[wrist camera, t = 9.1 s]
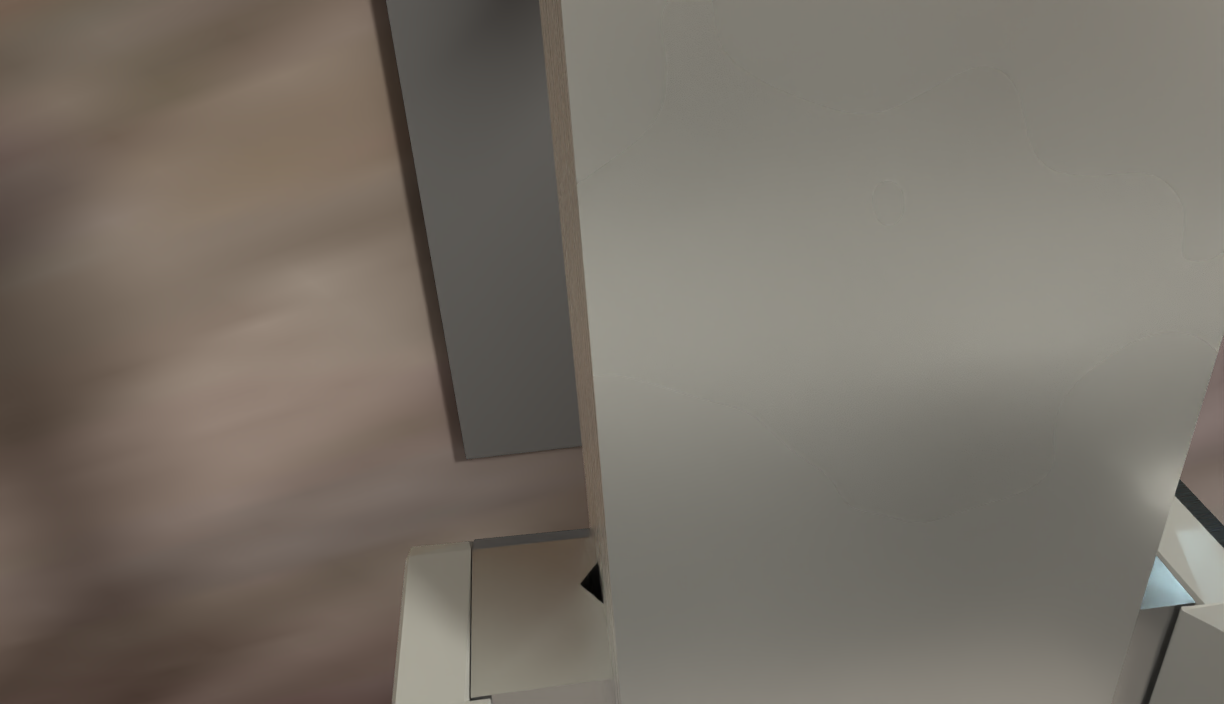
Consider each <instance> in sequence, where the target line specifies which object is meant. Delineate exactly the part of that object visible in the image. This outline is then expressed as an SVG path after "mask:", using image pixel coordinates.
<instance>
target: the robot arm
mask: <svg viewBox="0 0 1224 704" xmlns="http://www.w3.org/2000/svg"><path fill="white" fill-rule="evenodd" d="M392 704H616V694H615V683H614V674H613V667H612V660H611V653H610V645H609V638H608V631H607V624H606V617H605V610H604V604H603V603H602V602H601V591H600V580H599V570H598V560H597V553H596V546H595V539H594V533H593V528H587V529H577V530H567V531H557V532H547V533H536V534H526V535H516V536H506V537H496V538H486V539H475V540H474V542H470V541H468V542H457V543H447V544H437V545H426V546H416V547H411V550H410V552H409V554H408V557H407V559H406V561H405V571H404V582H403V592H402V602H401V613H400V623H399V633H398V644H397V654H396V664H395V675H394V685H393V695H392ZM1111 704H1224V548H1223V547H1222V546H1221V545H1220V544H1219V543H1218V542H1217V540H1216V539H1215V538H1214V537H1213V536H1212V535H1211V534H1210V533H1209V532H1208V531H1207V530H1206V529H1205V528H1204V527H1203V525H1202V524H1201V523H1200V522H1199V521H1198V520H1197V519H1196V518H1195V517H1194V516H1193V515H1192V514H1191V513H1190V511H1189V510H1188V509H1187V508H1186V507H1185V506H1184V505H1183V504H1182V503H1181V502H1180V501H1179V500H1178V499H1177V498H1176V496H1175V495H1174V498H1173V502H1172V505H1171V508H1170V512H1169V515H1168V518H1167V521H1166V525H1165V528H1164V531H1163V535H1162V538H1161V541H1160V544H1159V548H1158V551H1157V554H1156V558H1155V561H1154V564H1153V567H1152V571H1151V574H1150V577H1149V581H1148V584H1147V587H1146V590H1145V594H1144V597H1143V600H1142V604H1141V607H1140V610H1139V613H1138V617H1137V620H1136V623H1135V627H1134V630H1133V633H1132V636H1131V640H1130V643H1129V646H1128V649H1127V653H1126V656H1125V659H1124V663H1123V666H1122V669H1121V672H1120V676H1119V679H1118V682H1117V686H1116V689H1115V692H1114V695H1113V699H1112V702H1111Z"/></svg>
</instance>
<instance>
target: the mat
mask: <svg viewBox="0 0 1224 704" xmlns="http://www.w3.org/2000/svg"><path fill="white" fill-rule="evenodd" d="M386 4H387V9H388V15H389V21H390V26H391V32H392V38H393V44H394V49H395V55H396V61H397V66H398V72H399V78H400V84H401V89H402V95H403V101H404V106H405V112H406V118H407V124H408V129H409V135H410V141H411V146H412V152H413V158H414V164H415V169H416V175H417V181H418V186H419V192H420V198H421V204H422V209H423V215H424V221H425V226H426V232H427V238H428V244H429V249H430V255H431V261H432V266H433V272H434V278H435V284H436V289H437V295H438V301H439V306H440V312H441V318H442V324H443V329H444V335H445V341H446V346H447V352H448V358H449V364H450V369H451V375H452V381H453V386H454V392H455V398H456V404H457V409H458V415H459V421H460V426H461V432H462V438H463V444H464V449H465V455H466V459H473V458H482V457H490V456H499V455H508V454H516V453H525V452H534V451H542V450H551V449H560V448H568V447H577V446H582V441H581V430H580V420H579V410H578V399H577V389H576V379H575V368H574V358H573V348H572V337H571V327H570V317H569V306H568V296H567V285H566V275H565V265H564V254H563V244H562V234H561V223H560V213H559V203H558V192H557V182H556V172H555V161H554V151H553V141H552V130H551V120H550V110H549V99H548V89H547V78H546V68H545V58H544V47H543V37H542V27H541V16H540V6H539V0H386Z"/></svg>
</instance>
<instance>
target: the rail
mask: <svg viewBox="0 0 1224 704" xmlns="http://www.w3.org/2000/svg"><path fill="white" fill-rule="evenodd" d="M539 6H540V16H541V27H542V37H543V47H544V58H545V68H546V78H547V89H548V99H549V110H550V120H551V130H552V141H553V151H554V161H555V172H556V182H557V192H558V203H559V213H560V223H561V234H562V244H563V254H564V265H565V275H566V285H567V296H568V306H569V317H570V327H571V337H572V348H573V358H574V368H575V379H576V389H577V399H578V410H579V420H580V430H581V441H582V451H583V461H584V472H585V482H586V492H587V503H588V513H589V523H590V528H593V533H594V539H595V546H596V553H597V560H598V570H599V580H600V591H601V602H602V603H603V604H604V610H605V617H606V624H607V631H608V638H609V645H610V653H611V660H612V667H613V674H614V683H615V694H616V704H1111V702H1112V699H1113V695H1114V692H1115V689H1116V686H1117V682H1118V679H1119V676H1120V672H1121V669H1122V666H1123V663H1124V659H1125V656H1126V653H1127V649H1128V646H1129V643H1130V640H1131V636H1132V633H1133V630H1134V627H1135V623H1136V620H1137V617H1138V613H1139V610H1140V607H1141V604H1142V600H1143V597H1144V594H1145V590H1146V587H1147V584H1148V581H1149V577H1150V574H1151V571H1152V567H1153V564H1154V561H1155V558H1156V554H1157V551H1158V548H1159V544H1160V541H1161V538H1162V535H1163V531H1164V528H1165V525H1166V521H1167V518H1168V515H1169V512H1170V508H1171V505H1172V502H1173V498H1174V495H1175V492H1176V489H1177V485H1178V482H1179V479H1180V475H1181V472H1182V469H1183V466H1184V462H1185V459H1186V456H1187V453H1188V449H1189V446H1190V443H1191V439H1192V436H1193V433H1194V430H1195V426H1196V423H1197V420H1198V416H1199V413H1200V410H1201V407H1202V403H1203V400H1204V397H1205V393H1206V390H1207V387H1208V384H1209V380H1210V377H1211V374H1212V370H1213V367H1214V364H1215V361H1216V357H1217V354H1218V351H1219V347H1220V344H1221V341H1222V338H1223V334H1224V0H539Z"/></svg>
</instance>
